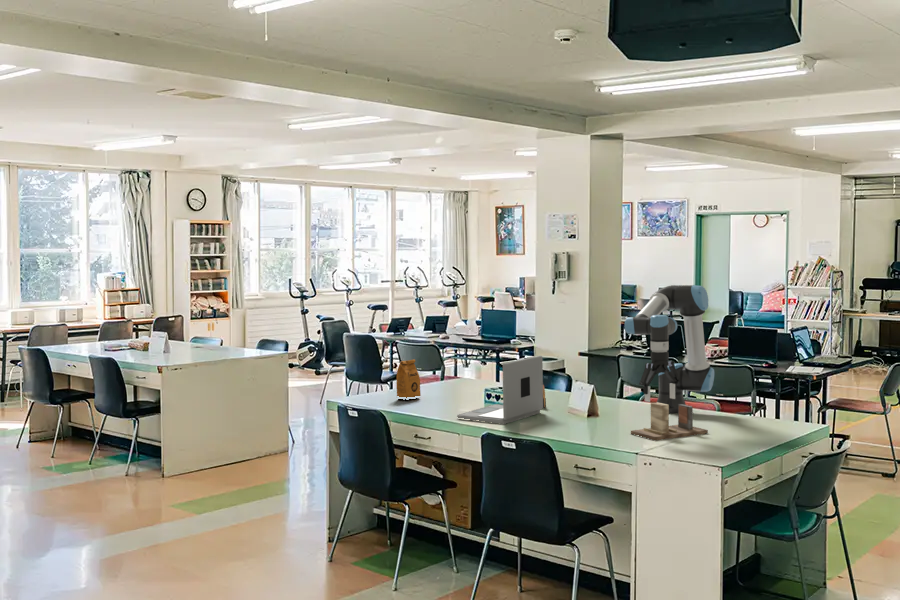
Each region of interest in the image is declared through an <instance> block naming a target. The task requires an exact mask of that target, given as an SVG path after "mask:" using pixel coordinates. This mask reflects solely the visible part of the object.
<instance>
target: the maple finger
mask: <svg viewBox="0 0 900 600" xmlns="http://www.w3.org/2000/svg"><path fill="white" fill-rule="evenodd" d="M669 415H670V413H669V405H668V404H663V403H658V402H657V401H656V402H651V403H650V428H651V430H655V431H659V432H662V433H669V426H670V424H669V422H670V420H669V419H670V417H669Z"/></svg>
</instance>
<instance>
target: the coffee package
mask: <svg viewBox="0 0 900 600" xmlns="http://www.w3.org/2000/svg"><path fill="white" fill-rule="evenodd" d="M415 363H416V359H409V360H401V361H400V362H399V364H398V368H397V371H396V385H395V386H396V397H397V396H399V397H406V398H407V397H415V396H421V397H422V395H421V378H420V374H419V371H418V370H417V367H416V364H415Z"/></svg>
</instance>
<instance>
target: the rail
mask: <svg viewBox="0 0 900 600" xmlns="http://www.w3.org/2000/svg"><path fill="white" fill-rule="evenodd" d="M693 415H694V413H693V406H692V405H687V404H686V405H683V404H680V405H678V413H677V418H678V420H677V421H678V422H677V424H673V425H669V433H662V432H659V431H655V430H651V427H650V428H648V427H643V429H632V430H630V435H632V434H635V435H634V436H636V435H639V436H638V437H640V436H642V437H641V438H643V437H646V438H645V439H647V438H649V439H648V440H650V439H652V441H654V440H656V441H662V440H661V439H663V440H669V439H679V438H685V437H691V436H690V435H693V436H698V435H697V434H700V435H706V434H705V433H708V434H709V431H708V429H706V428H701V427H696V426H694V425H693V423H694V419H693V418H694V416H693Z"/></svg>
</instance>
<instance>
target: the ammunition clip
mask: <svg viewBox="0 0 900 600" xmlns="http://www.w3.org/2000/svg"><path fill="white" fill-rule="evenodd" d="M545 391H546V389H545V385H544V384H543V409H546V408H547V401H546V400H547V397H546V392H545Z"/></svg>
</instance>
